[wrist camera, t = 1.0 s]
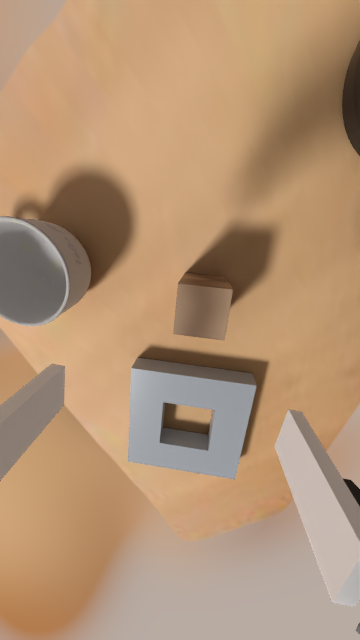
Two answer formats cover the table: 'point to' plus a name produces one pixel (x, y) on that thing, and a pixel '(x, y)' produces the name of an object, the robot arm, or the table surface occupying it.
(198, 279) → the peg
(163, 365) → the housing
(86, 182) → the table surface
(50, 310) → the teacup
